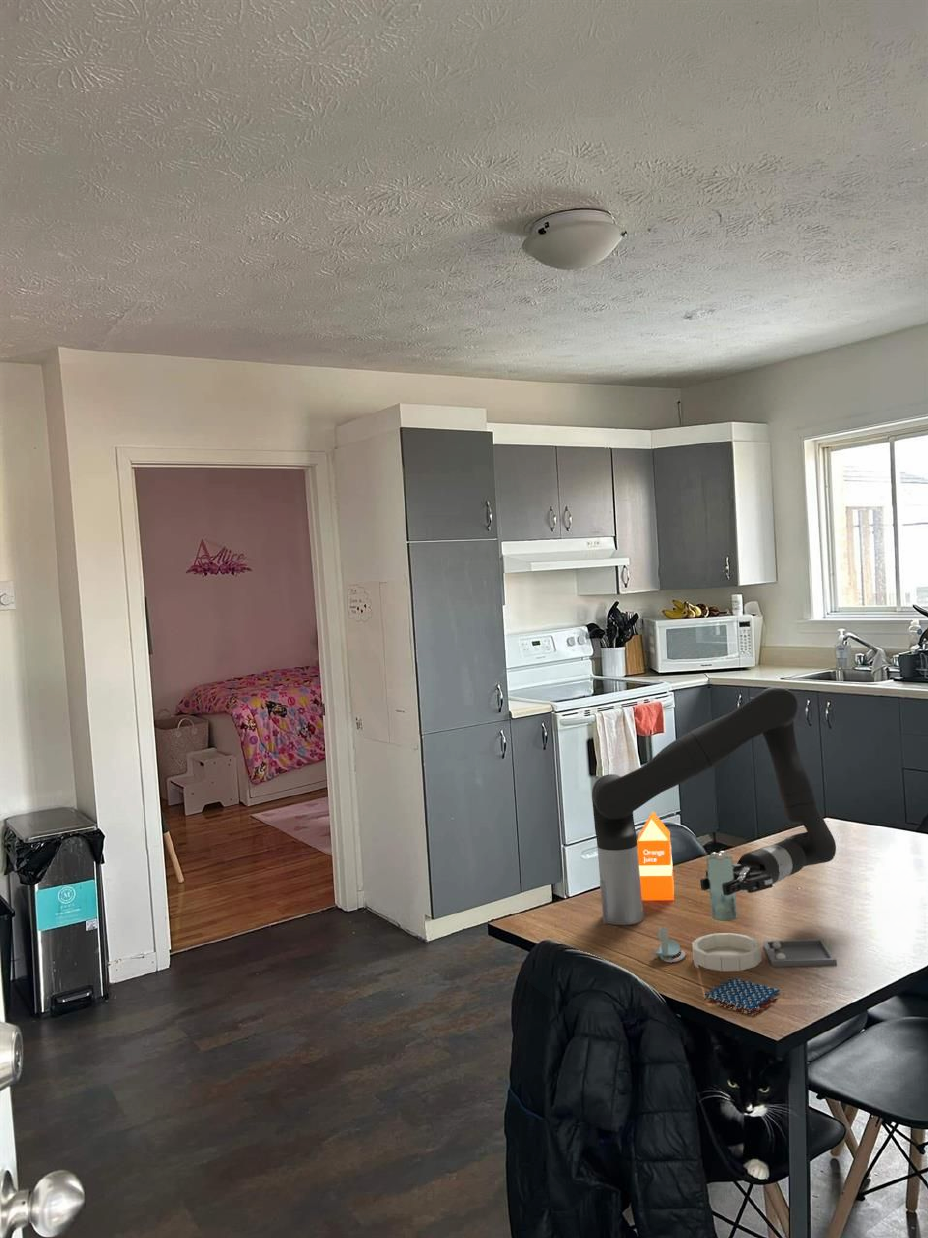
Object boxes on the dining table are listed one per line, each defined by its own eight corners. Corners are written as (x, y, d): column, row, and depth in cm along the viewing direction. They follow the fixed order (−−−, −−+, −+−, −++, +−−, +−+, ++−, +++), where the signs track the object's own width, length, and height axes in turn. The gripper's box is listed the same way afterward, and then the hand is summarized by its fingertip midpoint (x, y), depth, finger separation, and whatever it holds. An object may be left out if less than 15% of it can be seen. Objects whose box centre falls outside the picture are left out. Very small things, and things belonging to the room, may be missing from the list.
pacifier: (690, 954, 199) (663, 949, 202) (689, 925, 199) (661, 920, 202) (677, 967, 193) (649, 962, 196) (675, 936, 193) (647, 932, 196)
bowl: (697, 976, 187) (695, 958, 187) (691, 951, 200) (689, 934, 200) (766, 974, 185) (764, 956, 185) (755, 949, 198) (754, 932, 198)
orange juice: (641, 900, 235) (634, 819, 235) (643, 889, 243) (637, 810, 243) (674, 900, 233) (667, 818, 233) (675, 888, 242) (668, 809, 241)
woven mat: (754, 1020, 168) (753, 1009, 168) (702, 1005, 175) (701, 994, 175) (785, 1000, 175) (784, 989, 175) (734, 986, 182) (733, 975, 182)
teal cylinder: (713, 921, 190) (707, 856, 190) (710, 913, 195) (704, 849, 195) (739, 920, 190) (733, 854, 189) (735, 912, 195) (729, 848, 194)
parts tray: (772, 970, 187) (771, 957, 186) (763, 949, 197) (762, 937, 197) (837, 969, 185) (836, 955, 185) (824, 947, 196) (823, 935, 196)
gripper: (735, 843, 207) (683, 863, 196) (793, 854, 195) (741, 875, 185) (738, 878, 207) (686, 899, 197) (796, 890, 195) (744, 913, 185)
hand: (713, 887), depth 191 cm, fingers closed on teal cylinder, 5 cm apart
